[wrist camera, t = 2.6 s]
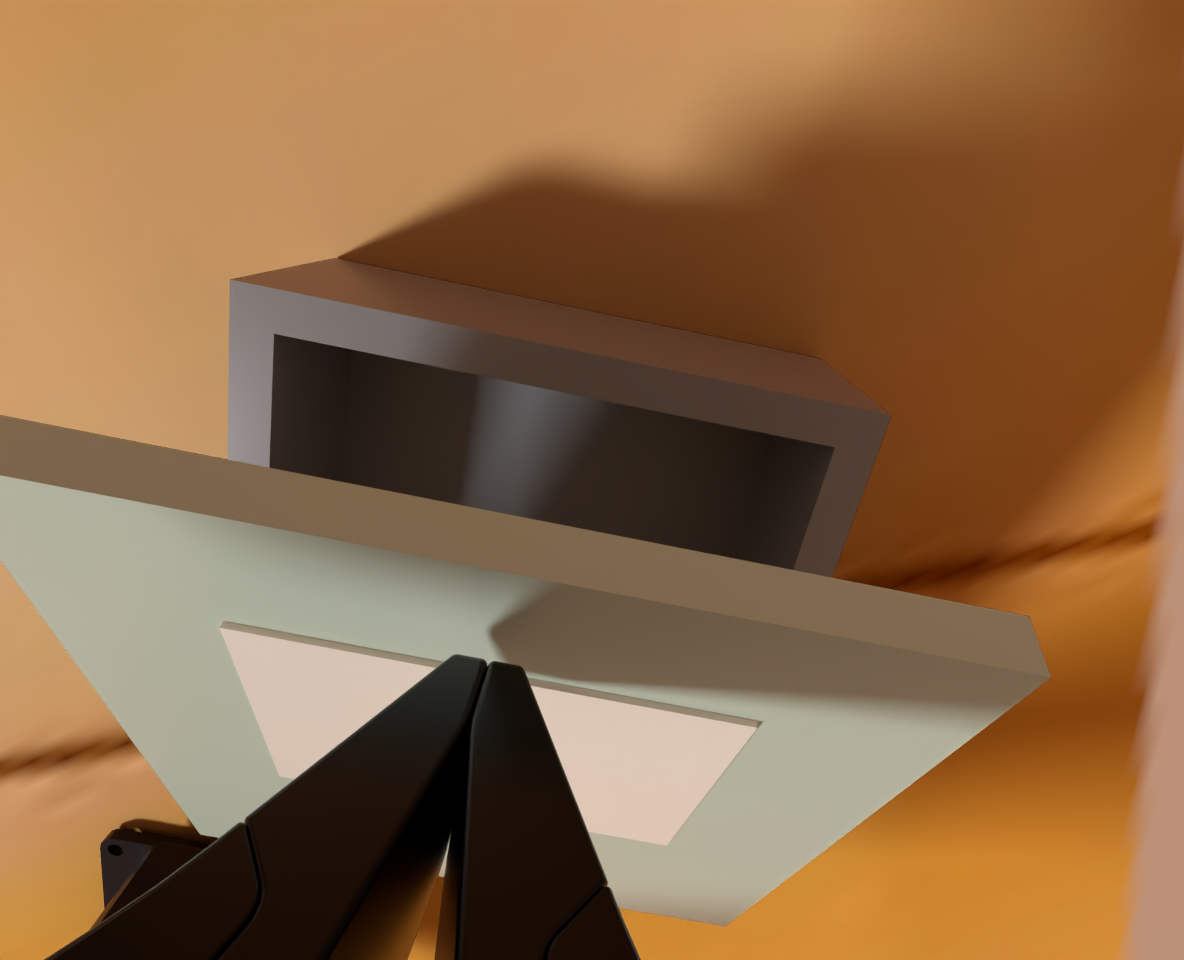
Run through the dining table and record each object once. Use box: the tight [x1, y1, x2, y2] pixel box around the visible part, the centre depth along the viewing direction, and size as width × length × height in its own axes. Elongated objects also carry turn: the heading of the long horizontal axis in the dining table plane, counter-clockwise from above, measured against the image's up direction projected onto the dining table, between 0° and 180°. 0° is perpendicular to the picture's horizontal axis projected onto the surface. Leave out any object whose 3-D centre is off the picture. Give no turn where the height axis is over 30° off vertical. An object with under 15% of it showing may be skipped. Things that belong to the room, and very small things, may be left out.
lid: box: [0, 415, 1051, 926], centre depth 12 cm, size 12×12×1 cm
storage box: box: [228, 258, 892, 578], centre depth 17 cm, size 12×12×5 cm
